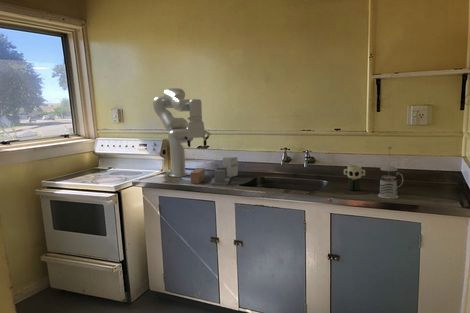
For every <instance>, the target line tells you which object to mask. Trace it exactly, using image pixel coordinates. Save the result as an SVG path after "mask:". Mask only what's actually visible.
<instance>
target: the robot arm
mask: <svg viewBox="0 0 470 313" xmlns="http://www.w3.org/2000/svg"><path fill="white" fill-rule="evenodd" d="M185 97H186V92H185V91H184V90H183V88H179V87H178V88H177V87H169V88H166V89H164V91H163V95H158V96H156V97H154V98H153V100H152V106H153V107H152V108H153V110H154V112H155V113H156V115H157V116H158V118H160V120H161V122H162V124H163V126H164V129H165V130H166V131H167V132H168V133H167V134H168V135H167V138H168V139H167V140H168V142H169V148H170V149H169V153H170V169H165V170H164V172H165V174H169V177H172V178H181V177H186V176H188V175H189V173H188V172H186V156H185V155H186V154H185V152H186V151H185V148H184V145H182V144H185V143H186V144H187V146H188V148H190V147H191V142H193V140H194V139H197V138H198V139H201V138H202V139H203V147H204V148H205V147H206V146H207V140H208V139H209V138H210V136H211V132H209V131H207V130H205V123H204V121H203V114H202V113H203V110H202V105H203V104H202V99H199V98H194V99H191V98H190V99H188V98H187V99H186V98H185ZM168 109H174V110H175V111H176V112H189V117H187V120H188V121H187V120H186V119H185V118H184V117H174V116H173V113H172V112H171V111H169V110H168ZM206 135H207V136H206Z"/></svg>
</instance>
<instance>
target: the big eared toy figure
mask: <svg viewBox="0 0 470 313" xmlns="http://www.w3.org/2000/svg"><path fill="white" fill-rule="evenodd" d="M346 171H347V172H346ZM343 175H344V176H347V178H348V179H349V181H348V184H347V189H348V190H350V191H359V190H361V183H360V179H362V177H364V176H366V169H362V165H358V164H357V165H356V164H351V165H347V168H345V169H343Z"/></svg>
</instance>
